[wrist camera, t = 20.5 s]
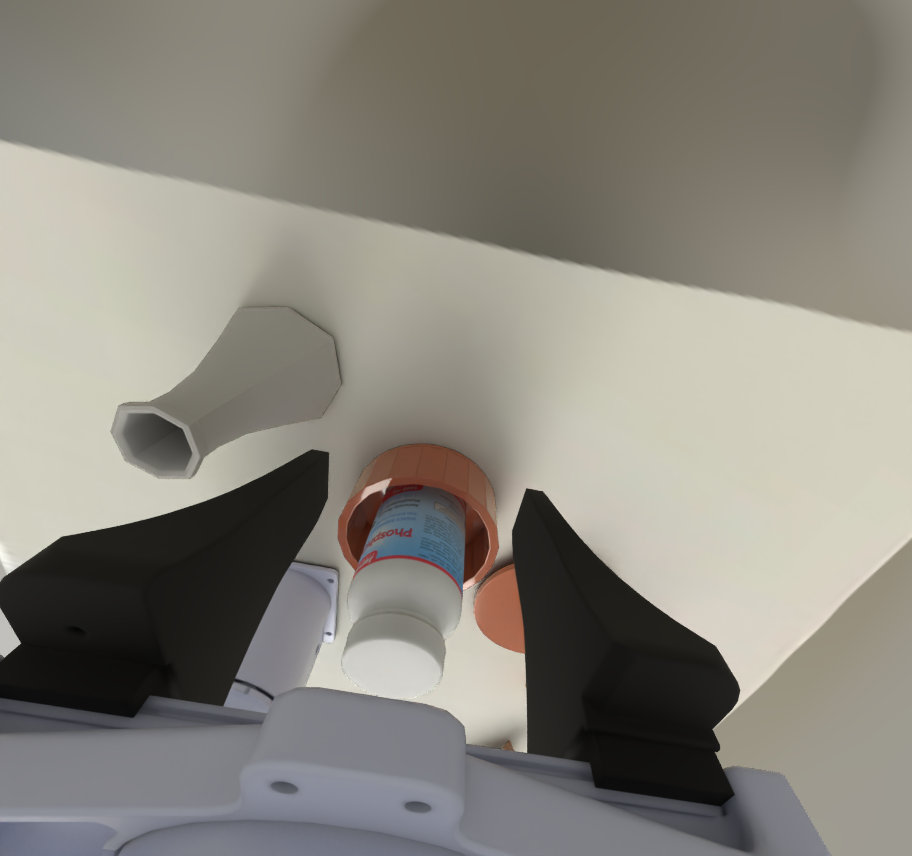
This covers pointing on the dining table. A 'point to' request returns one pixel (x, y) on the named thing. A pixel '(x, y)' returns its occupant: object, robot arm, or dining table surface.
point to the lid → (501, 610)
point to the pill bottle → (406, 593)
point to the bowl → (433, 471)
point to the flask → (233, 393)
